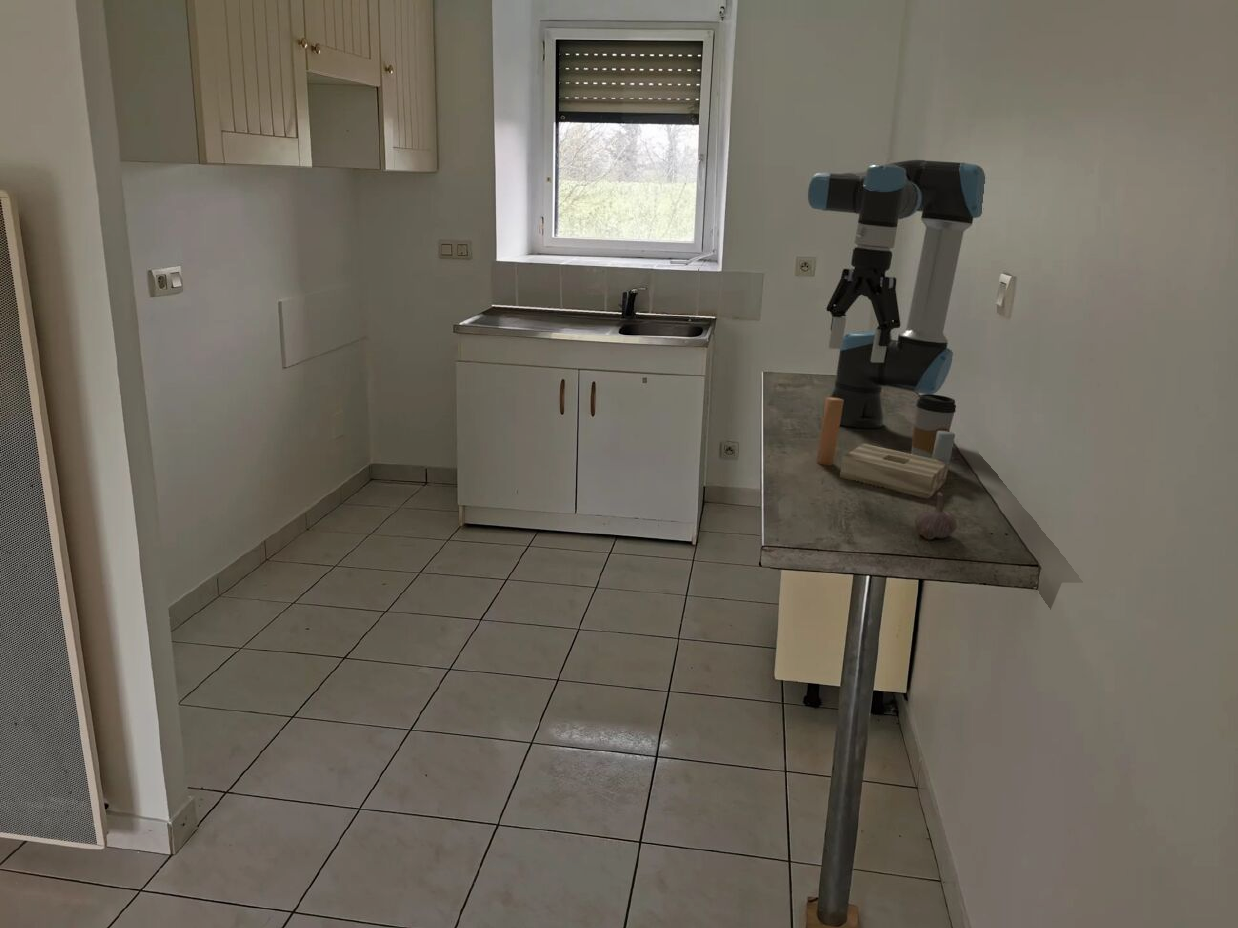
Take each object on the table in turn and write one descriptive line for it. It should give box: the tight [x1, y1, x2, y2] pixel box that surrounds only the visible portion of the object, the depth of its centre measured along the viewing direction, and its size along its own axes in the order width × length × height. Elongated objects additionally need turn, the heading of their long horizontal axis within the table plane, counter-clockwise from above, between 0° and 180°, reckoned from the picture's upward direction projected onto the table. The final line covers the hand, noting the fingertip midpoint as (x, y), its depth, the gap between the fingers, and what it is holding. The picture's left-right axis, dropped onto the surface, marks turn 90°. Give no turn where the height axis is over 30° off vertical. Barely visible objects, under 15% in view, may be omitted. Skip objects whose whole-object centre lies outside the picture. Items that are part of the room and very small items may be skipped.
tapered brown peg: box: [815, 396, 844, 466], centre depth 204 cm, size 4×4×14 cm
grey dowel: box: [932, 431, 956, 482], centre depth 201 cm, size 4×4×10 cm
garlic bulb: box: [914, 492, 958, 540], centre depth 166 cm, size 8×7×8 cm
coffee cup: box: [910, 393, 957, 459], centre depth 211 cm, size 8×8×15 cm
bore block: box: [839, 443, 950, 500], centre depth 197 cm, size 14×18×4 cm
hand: (855, 355), depth 194 cm, fingers open, 13 cm apart
